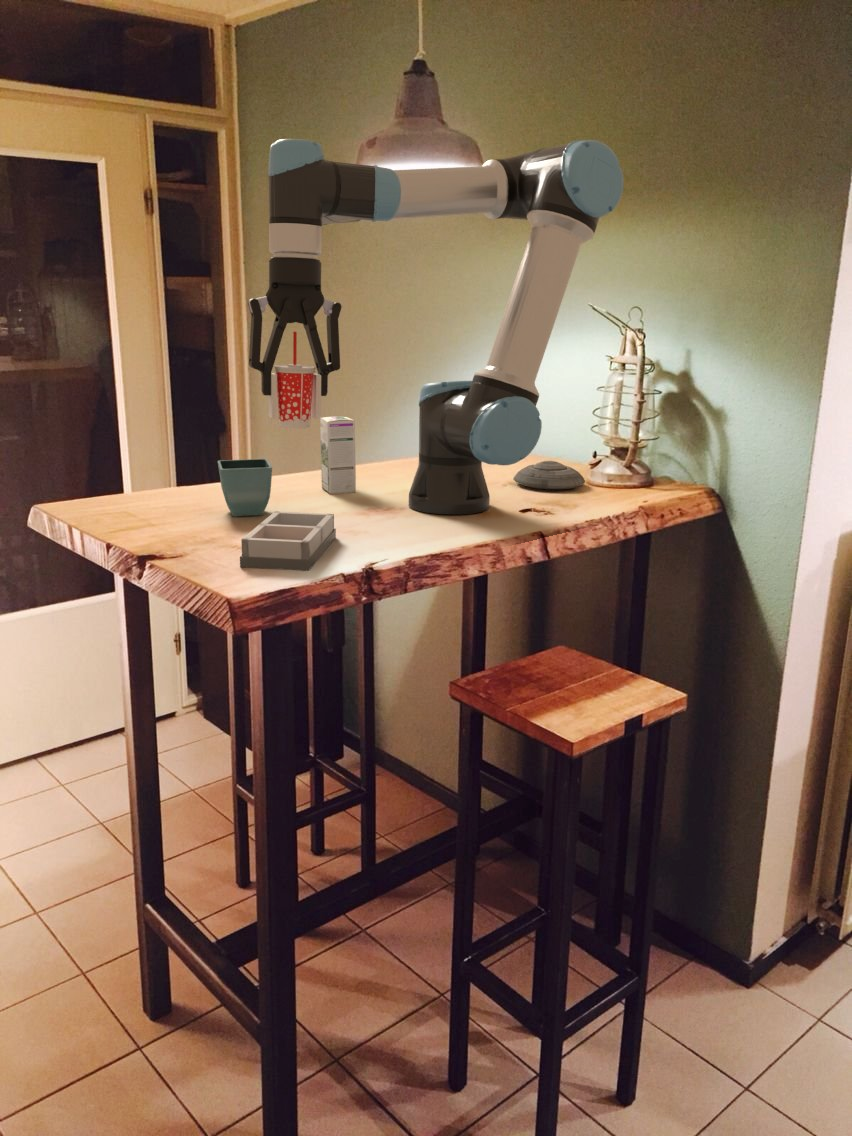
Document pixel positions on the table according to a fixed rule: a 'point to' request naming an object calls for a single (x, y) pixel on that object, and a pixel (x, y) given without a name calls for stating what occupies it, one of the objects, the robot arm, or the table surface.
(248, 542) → the divided tray
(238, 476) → the flower pot
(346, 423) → the syrup box
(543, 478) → the flying saucer
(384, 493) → the table surface
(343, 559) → the table surface
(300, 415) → the beverage cup
